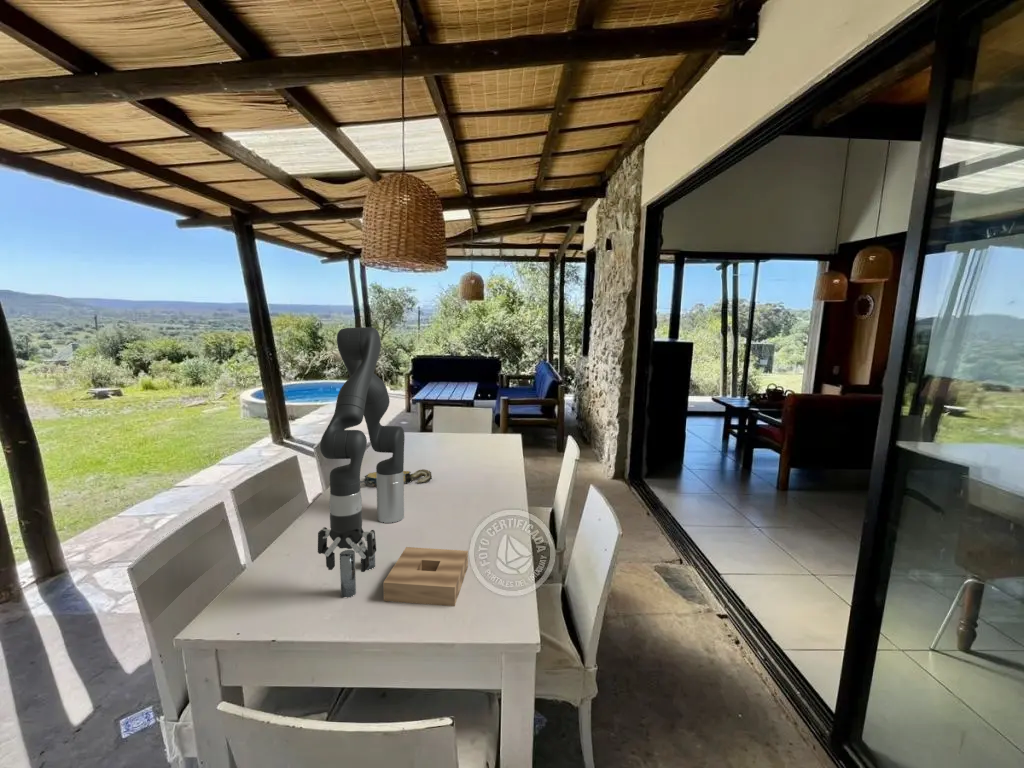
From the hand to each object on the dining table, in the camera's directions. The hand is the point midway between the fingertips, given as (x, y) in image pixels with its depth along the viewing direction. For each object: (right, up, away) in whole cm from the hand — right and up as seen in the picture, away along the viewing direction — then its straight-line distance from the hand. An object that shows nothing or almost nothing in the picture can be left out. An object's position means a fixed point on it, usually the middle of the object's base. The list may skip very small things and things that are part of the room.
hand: (347, 569), depth 114 cm
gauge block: (+19, -6, +6) cm, 21 cm away
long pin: (0, -7, +1) cm, 7 cm away
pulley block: (-8, +4, +81) cm, 82 cm away
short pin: (+1, -5, +14) cm, 15 cm away
